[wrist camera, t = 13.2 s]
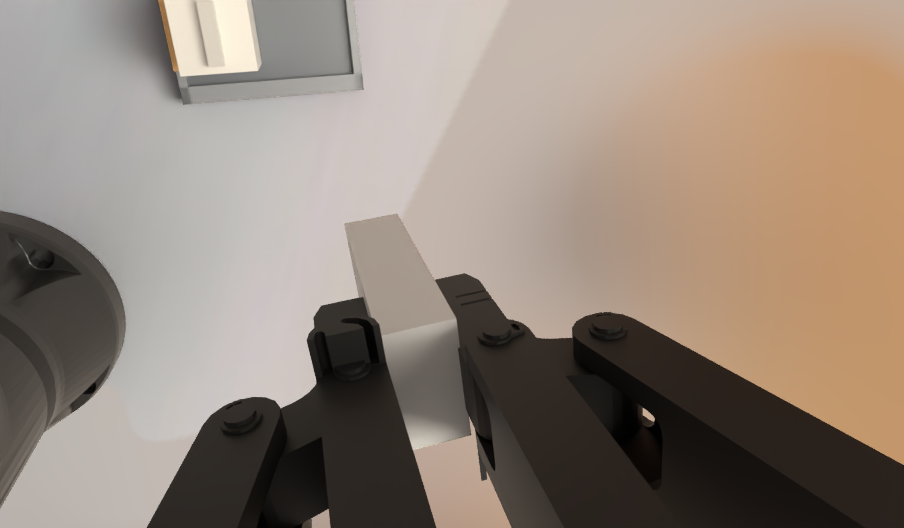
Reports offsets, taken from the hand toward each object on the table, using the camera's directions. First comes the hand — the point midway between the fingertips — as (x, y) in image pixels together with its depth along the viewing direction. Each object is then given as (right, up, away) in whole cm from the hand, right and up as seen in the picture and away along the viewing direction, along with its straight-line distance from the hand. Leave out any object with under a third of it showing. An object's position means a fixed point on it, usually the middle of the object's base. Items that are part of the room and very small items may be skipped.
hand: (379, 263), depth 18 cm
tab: (-12, +14, +19) cm, 26 cm away
